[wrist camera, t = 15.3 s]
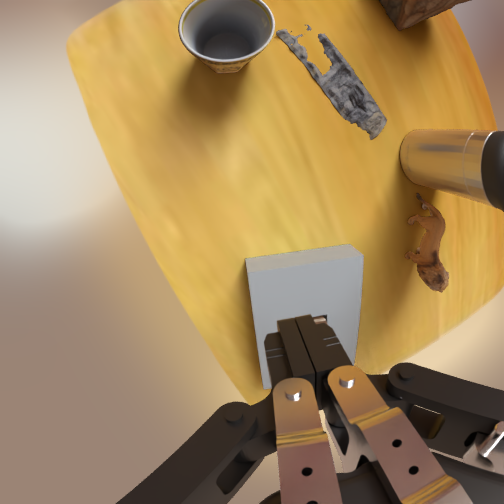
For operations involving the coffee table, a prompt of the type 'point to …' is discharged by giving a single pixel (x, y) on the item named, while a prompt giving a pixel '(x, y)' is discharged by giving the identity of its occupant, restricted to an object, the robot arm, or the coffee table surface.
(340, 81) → the driftwood
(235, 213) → the coffee table surface
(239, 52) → the ceramic cup
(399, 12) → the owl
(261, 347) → the grey rectangular block
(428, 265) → the lion figurine
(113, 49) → the coffee table surface
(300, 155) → the coffee table surface
